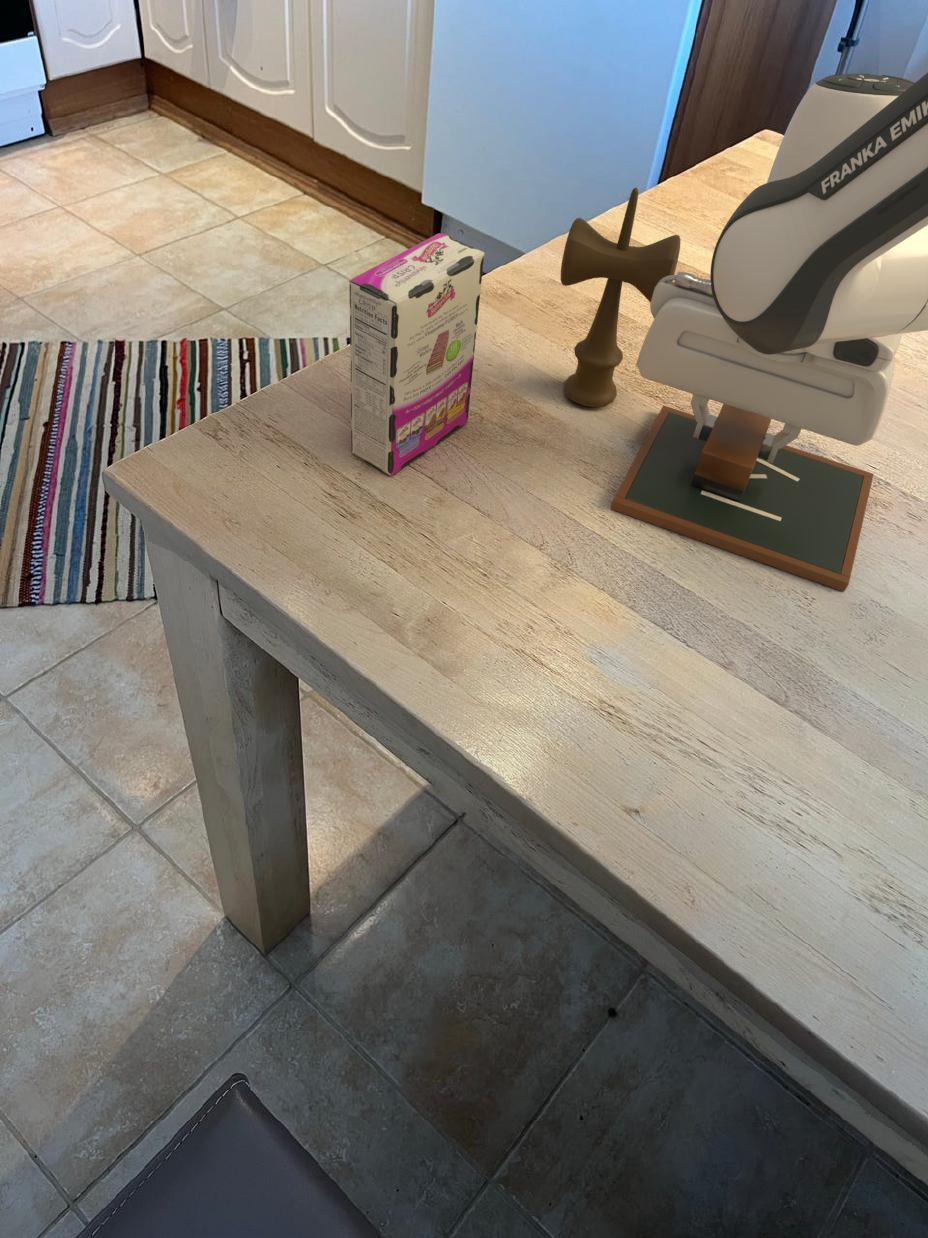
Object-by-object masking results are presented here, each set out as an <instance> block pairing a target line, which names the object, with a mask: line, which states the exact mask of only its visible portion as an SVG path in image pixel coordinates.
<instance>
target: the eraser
mask: <svg viewBox="0 0 928 1238" xmlns="http://www.w3.org/2000/svg"><path fill="white" fill-rule="evenodd" d="M716 417H717V419H716V422H715V424H714V426H713V428H712V431H711V433H710V435H709V437H708V440H707V442H706V444H705V446H704V448H703V451H702V453H701V456H700V459H699V462H698V465H697V468H696V471H695V474H694V476H693V479H692V482H691V485H693V486H696V487H699V488H702V489H705V490H707V491H710V492H713V493H716V494H719V495H722V496H725V497H728V498H731V499H734V500H737V501H740V500H741V498H742V495H743V493H744V490H745V488H746V485H747V483H748V480H749V478H750V475H751V473H752V470H753V468H754V465H755V462H756V460H757V457H758V454H759V452H760V449H761V446H762V444H763V441H764V438H765V436H766V433H768V431H769V428H770V424H771V423H772V420H773V419H770V418H767V417H764V416H761V415H758V414H754V413H751V412H748V411H745V410H742V409H739V408H736V407H732V406H729V405H726V404H723V403H722V406H721V408H720V411H719V413H718V415H717V416H716Z"/></svg>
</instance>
